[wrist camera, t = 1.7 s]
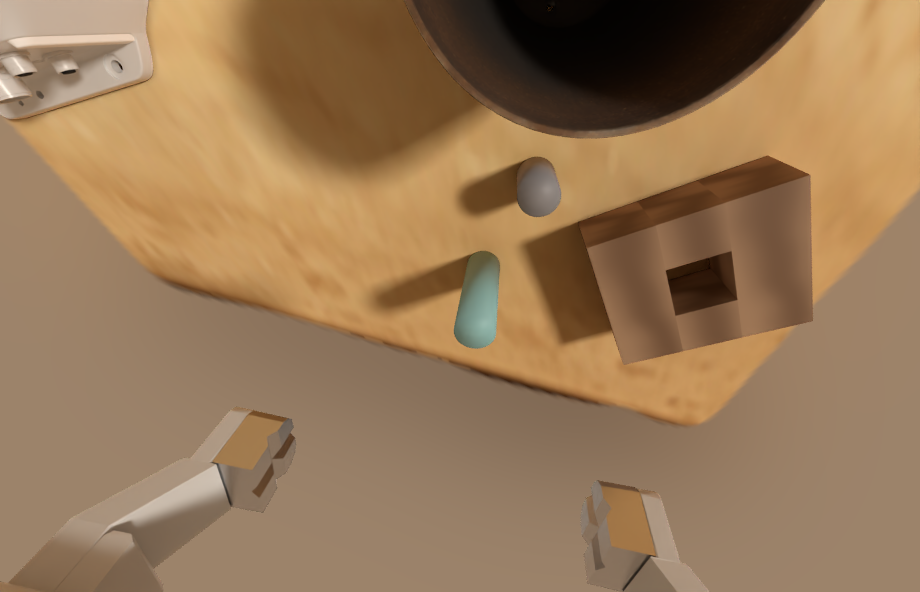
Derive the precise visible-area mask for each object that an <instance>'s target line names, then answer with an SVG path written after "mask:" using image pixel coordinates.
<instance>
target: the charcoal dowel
mask: <svg viewBox="0 0 920 592" xmlns="http://www.w3.org/2000/svg"><path fill="white" fill-rule="evenodd" d="M517 200H518V204H519V206H520V208H521V209H522V211H523V212H525V213H526V214H528V215H530V216H533V217H542V216H546V215H548V214H550V213H551V212H553V211H554V210H555V209H556V208H557V206H558V205H559V203H560V200H561V190H560V186H559V183H558V180H557V177H556V174H555V170H554V168H553V166H552V164H551V163H550V162H549V161H548V160H547V159H545V158H542V157H532V158H529V159H527V160H526V161H524V162H523V163H522V164H521V166H520V167H519V169H518V172H517Z"/></svg>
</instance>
